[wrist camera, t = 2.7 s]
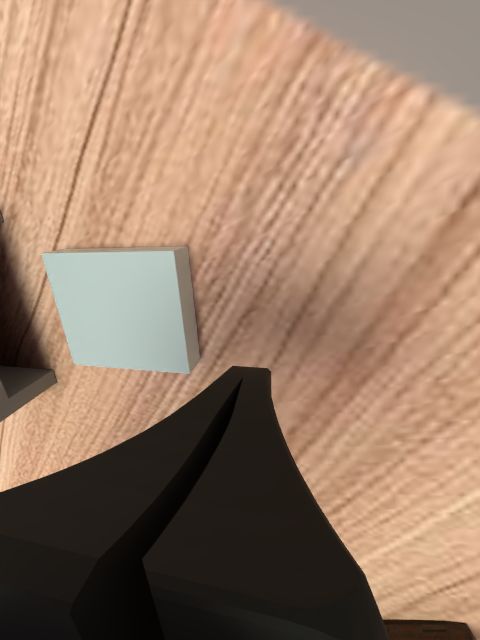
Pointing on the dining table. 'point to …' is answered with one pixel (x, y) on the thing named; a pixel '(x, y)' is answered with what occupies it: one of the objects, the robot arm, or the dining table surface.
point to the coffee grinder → (427, 630)
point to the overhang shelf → (21, 385)
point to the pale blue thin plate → (126, 306)
